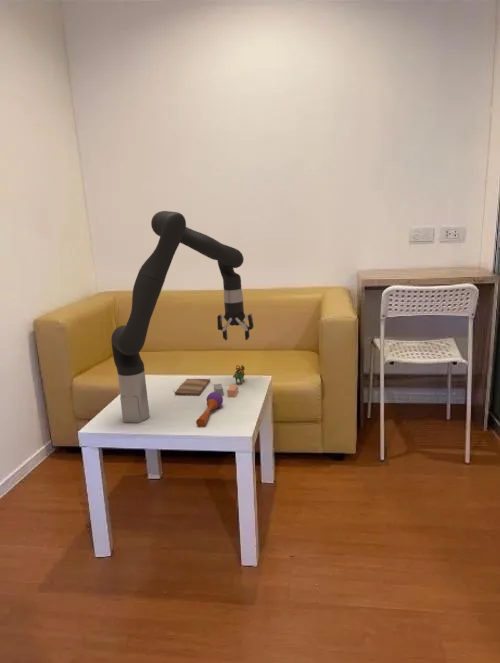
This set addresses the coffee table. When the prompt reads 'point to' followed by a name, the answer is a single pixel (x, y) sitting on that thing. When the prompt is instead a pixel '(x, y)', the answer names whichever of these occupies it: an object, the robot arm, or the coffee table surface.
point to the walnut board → (192, 387)
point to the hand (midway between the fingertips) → (236, 339)
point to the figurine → (239, 373)
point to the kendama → (210, 407)
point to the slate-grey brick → (218, 388)
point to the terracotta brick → (232, 391)
